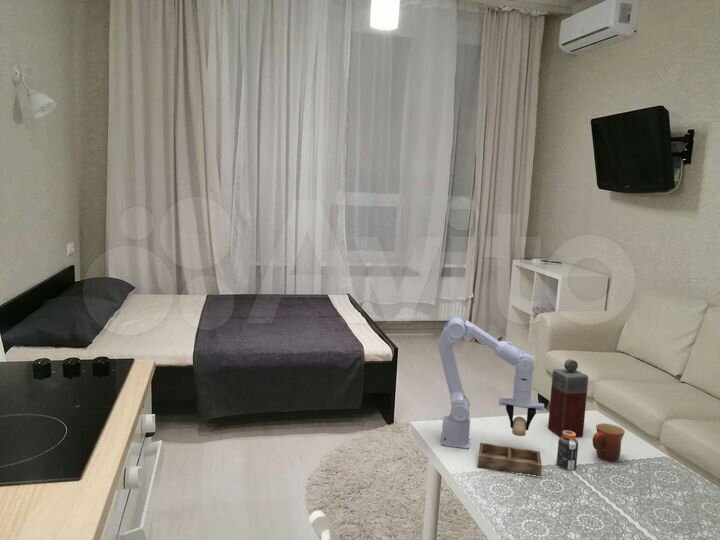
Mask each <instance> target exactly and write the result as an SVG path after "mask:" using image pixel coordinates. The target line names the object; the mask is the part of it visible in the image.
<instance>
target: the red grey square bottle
mask: <svg viewBox="0 0 720 540" xmlns="http://www.w3.org/2000/svg"><path fill="white" fill-rule="evenodd" d="M563 365H564V368H554V369H553V370H552V377H551V390H550V401H549V410H548V411H549V412H548V413H549V414H548V425H547V429H548V430H549V431H551V432H552V433H553V434H555V435H556V436H557V437H558V438H560V437H562V433H563V431H565V430H568V431H572V432H574V433H575V434H576V438H575V439H577V438H584V429H585V427H584V426H585V418H586V417H585V416H586V408H587V407H586V406H587V398H588V397H587V394H588V385H589V376H588V374H585V373H583V372H581V371H579V370H577V369H578V367H579V364H578V362H577V361H576V360H574V359H573V358H572V359H571V358H568V359H567V360H566V361H565V362H564V364H563Z"/></svg>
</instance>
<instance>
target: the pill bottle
mask: <svg viewBox="0 0 720 540" xmlns="http://www.w3.org/2000/svg"><path fill="white" fill-rule="evenodd" d="M557 443H558V445H557V454H556V456H557V457H556V465H557V467H559V468H561V469H563V468H564V469H563V470H568V471H573V470H575V469H576V468H577V463H578V452H579V441H578V440H577V438H576V434H575V433H574V432H572V431H568V430H565V431H563V433H562V437H558V442H557Z"/></svg>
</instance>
